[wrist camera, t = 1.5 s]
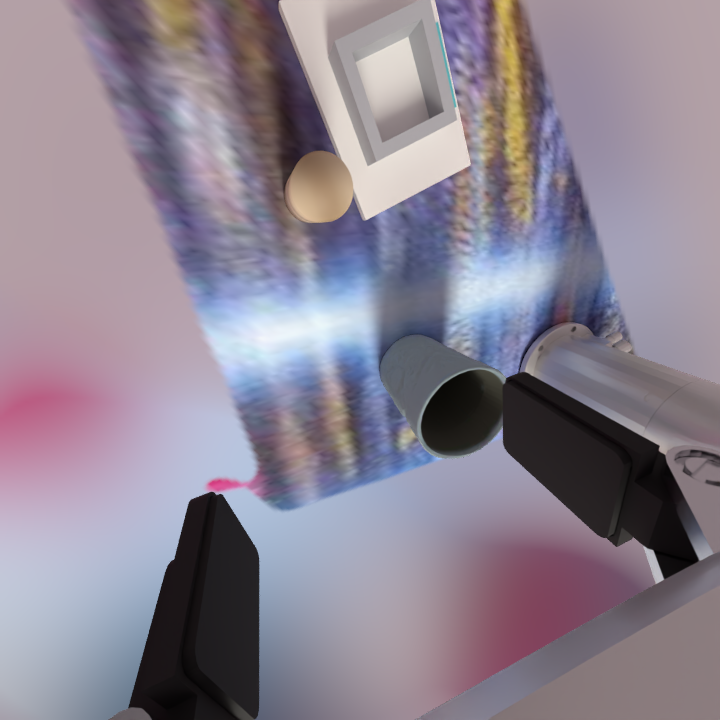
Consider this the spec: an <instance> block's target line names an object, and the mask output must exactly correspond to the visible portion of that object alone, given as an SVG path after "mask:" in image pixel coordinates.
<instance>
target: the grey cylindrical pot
mask: <svg viewBox="0 0 720 720" xmlns="http://www.w3.org/2000/svg"><path fill="white" fill-rule="evenodd" d="M380 377H381V381H382V383H383V385H384V387H385V388H386V390H387V392H388V393H389V395H390V396H391V398H392V399H393V400H394V403H395V405H396V406H397V407H398V409H399V411H400V412H401V414H402V415H403V416H405V417H406V419H407V422H408V423H409V424H410V427H411V429H412V430H413V432H414V434H415V435H416V437H417V439H418V440H419V442H420V443H421V445H422V446H423V448H424V449H425V450H426V451H427V452H429V453H430V454H431V455H434V456H436V457H438V458H444V459H455V458H461V457H465V456H468V455H471V454H472V453H474V452H476V451H478V450H480V449H481V448H483V447H484V446H486V445H487V444H488V443H489V442H491V441H492V440H493V439H494V438H495V437H496V435H497V434H498V433H499V432H500V430H501V429H502V427H503V392H502V387H503V384H504V383H505V380H506V377H505V376H504V375H503V374H502V373H501V372H500V371H499V370H497V369H495V368H493V367H490V366H488V365H486V364H484V363H482V362H480V361H477V360H474V359H471V358H469V357H467V356H465V355H463V354H461V353H459V352H457V351H456V350H453V349H451V348H448V347H447V346H445V345H443V344H441V343H439V342H438V341H436V340H434V339H432V338H430V337H427V336H424V335H419V334H415V335H408V336H406V337H405V336H404V337H402V338H401V339H400V340H397V341H396V342H394V344H393V345H392V346H391V347H390V348H389V349H388V350H387V352H386V353H385V355H384V356H383V359H382V361H381V364H380Z"/></svg>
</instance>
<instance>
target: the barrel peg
mask: <svg viewBox="0 0 720 720" xmlns="http://www.w3.org/2000/svg"><path fill="white" fill-rule="evenodd" d="M352 197H353V181H352V177H351V174H350V172H349V170H348V168H347V166H346V165H345V164H344V162H343V161H342V160H341V159H340V158H338V157H337V156H336V155H334V154H332V153H330V152H326V151H314V152H311V153H308V154H306V155H305V156H303V157H302V158H301V159H300V160H299V161H298V163H297V164H296V166H295V168H294V170H293V172H292V173H291V175H290V177H289V179H288V181H287V183H286V185H285V190H284V199H285V203H286V206H287V208H288V210H289V211H290V213H291V214H292V215H293V216H294V217H295V218H296V219H298V220H300V221H302V222H306V223H319V222H330V221H334V220H336V219H338V218H340V217H341V216H342V215H343V214H344V213H345V212H346V211H347V209H348V208H349V206H350V204H351V201H352Z"/></svg>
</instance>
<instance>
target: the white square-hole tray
mask: <svg viewBox="0 0 720 720" xmlns="http://www.w3.org/2000/svg"><path fill="white" fill-rule="evenodd" d="M278 10H279V12H280V15H281V17H282V20H283V22H284V25H285V27H286V30H287V32H288V35H289V37H290V40H291V42H292V45H293V47H294V50H295V52H296V55H297V57H298V59H299V62H300V64H301V67H302V69H303V72H304V74H305V77H306V79H307V82H308V84H309V87H310V89H311V92H312V94H313V97H314V99H315V102H316V104H317V107H318V109H319V112H320V114H321V117H322V119H323V122H324V124H325V127H326V129H327V132H328V134H329V137H330V139H331V142H332V144H333V147H334V149H335V152H336V154H337V157H338V158H340V159H341V160H342V161H343V162H344V164H345V165H346V166H347V168H348V170H349V172H350V174H351V177H352V181H353V197H354V199H355V202H356V204H357V207H358V209H359V212H360V214H361V217H362V219H363V220H367V219H369V218H371V217H373V216H375V215H377V214H379V213H380V212H382V211H384V210H386V209H388V208H390V207H392V206H394V205H396V204H398V203H399V202H401V201H403V200H405V199H407V198H409V197H411V196H413V195H415V194H417V193H418V192H420V191H422V190H424V189H426V188H428V187H430V186H432V185H434V184H436V183H437V182H439V181H441V180H443V179H445V178H447V177H449V176H451V175H453V174H455V173H456V172H458V171H460V170H462V169H464V168H466V167H468V166H470V165H471V164H470V159H469V155H468V150H467V145H466V141H465V136H464V132H463V127H462V122H461V118H460V113H459V109H458V104H457V100H456V95H455V90H454V86H453V81H452V77H451V72H450V67H449V63H448V58H447V54H446V49H445V45H444V40H443V35H442V31H441V26H440V22H439V17H438V12H437V8H436V3H435V0H280V1H279V9H278Z"/></svg>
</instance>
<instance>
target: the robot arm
mask: <svg viewBox="0 0 720 720" xmlns="http://www.w3.org/2000/svg"><path fill="white" fill-rule="evenodd" d="M621 339H622V334H621V333H619V332H617V331H615V332H613V333H611V334H609V335H608V336H606V337H605V338H599V337H596V336H594V335H593V333H592V331H591V330H590V329H589V328H588V327H586V326H584V325H582V324H578V323H575V322H565V323H560V324H558V325H555V326H553V327H551V328H550V329H548V330H546V331H545V332H544V333H543V334H541V335H540V336H539V337H538V338H537V339H536V340H535V341H534V342H533V344H532V345H531V347H530V348H529V349H528V351H527V353H526V355H525V356H524V359H523V362H522V364H521V369H520V373H518V374H515V375H512V376H510V377H508V378H506V380H505V383H504V384H503V387H502V392H503V444H504V447H505V449H506V450H507V452H508V453H509V454H510V455H511V456H512V457H513V458H514V459H515V460H516V461H517V462H519V463H520V464H521V465H522V466H523V467H524V468H525V469H526V470H527V471H528V472H529V473H531V474H532V475H533V476H534V477H535V478H536V479H537V480H538V481H539V482H540V483H541V484H543V485H544V486H545V487H546V488H547V489H548V490H549V491H550V492H551V493H553V495H554V496H556V497H557V498H558V499H559V500H560V501H561V502H562V503H563V504H564V505H566V507H567V508H569V509H570V510H571V511H572V512H573V513H574V514H575V515H576V516H577V517H578V518H580V519H581V520H582V521H583V522H584V523H585V524H586V525H587V526H588V527H589V528H590V529H592V530H593V531H594V532H595V533H596V534H597V535H599V536H600V537H603V538H607V539H608V540H609V541H610V542H612V543H613V544H614V545H615V546H616V547H618V546H620V545H622V544H623V543H625V542H627V541H629V540H631V539H632V538H633V537H634V538H635V539H636V540H638V541H639V542H640V543H641V544H642V545H643V547H644V550H645V553H646V556H647V559H648V562H649V565H650V568H651V571H652V574H653V577H654V580H655V582H656V584H655V585H653V586H652V587H650V588H648V589H646V590H644V591H643V592H641V593H639V594H637V595H635V596H634V597H632V598H630V599H628V600H627V601H625V602H623V603H621V604H619V605H618V606H616V607H614V608H612V609H610V610H609V611H607V612H605V613H603V614H602V615H600V616H598V617H596V618H594V619H592V620H591V621H589V622H587V623H585V624H583V625H582V626H580V627H578V628H576V629H575V630H573V631H571V632H569V633H567V634H566V635H564V636H562V637H560V638H559V639H557V640H555V641H553V642H551V643H550V644H548V645H546V646H544V647H543V648H541V649H539V650H537V651H536V652H534V653H532V654H530V655H528V656H527V657H525V658H523V659H521V660H520V661H518V662H516V663H514V664H512V665H511V666H509V667H507V668H506V669H504V670H502V671H500V672H498V673H497V674H495V675H493V676H491V677H490V678H488V679H486V680H484V681H483V682H481V683H479V684H477V685H475V686H474V687H472V688H470V689H468V690H467V691H465V692H463V693H461V694H460V695H458V696H456V697H454V698H452V699H451V700H449V701H447V702H445V703H444V704H442V705H440V706H438V707H437V708H435V709H433V710H431V711H430V712H428V713H426V714H425V715H423V716H421V717H419V718H417V719H416V720H720V385H719V384H716V383H713V382H710V381H707V380H703V379H701V378H698V377H695V376H692V375H690V374H687V373H684V372H681V371H678V370H675V369H672V368H669V367H667V366H663V365H661V364H658V363H655V362H652V361H649V360H646V359H644V358H641V357H638V356H635V355H632V354H629V353H627V352H629V351H630V350H631V345H630V344H629V343H628V342H627V341H625V340H621ZM619 340H620V341H619ZM617 341H618V342H617ZM614 343H615V344H614ZM612 344H613V345H612ZM258 711H259V555H258V552H257V549H256V547H255V545H254V544H253V542H252V541H251V539H250V538H249V536H248V534H247V533H246V531H245V530H244V528H243V527H242V525H241V523H240V522H239V520H238V518H237V517H236V515H235V514H234V512H233V510H232V509H231V507H230V506H229V504H228V503H227V501H226V499H225V498H224V497H223V495H222V494H219V495H216V494H215V493H214V492H209V493H207V494H204V495H202V496H199V497H196V498H194V499H192V500H190V502H189V504H188V508H187V512H186V515H185V520H184V523H183V527H182V532H181V535H180V539H179V543H178V547H177V551H176V555H175V559H174V560H172V561H171V562H170V563H169V565H168V566H167V569H166V572H165V575H164V579H163V583H162V586H161V590H160V593H159V597H158V601H157V604H156V608H155V612H154V615H153V619H152V623H151V626H150V630H149V634H148V638H147V641H146V645H145V649H144V652H143V656H142V660H141V663H140V667H139V671H138V675H137V678H136V682H135V685H134V690H133V693H132V697H131V700H130V704H129V707H128V709H126V710H123V711H121V712H119V713H117V714H116V715H114V716H113V717H112V718H110V719H109V720H254V719H256V717H257V716H258Z"/></svg>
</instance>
